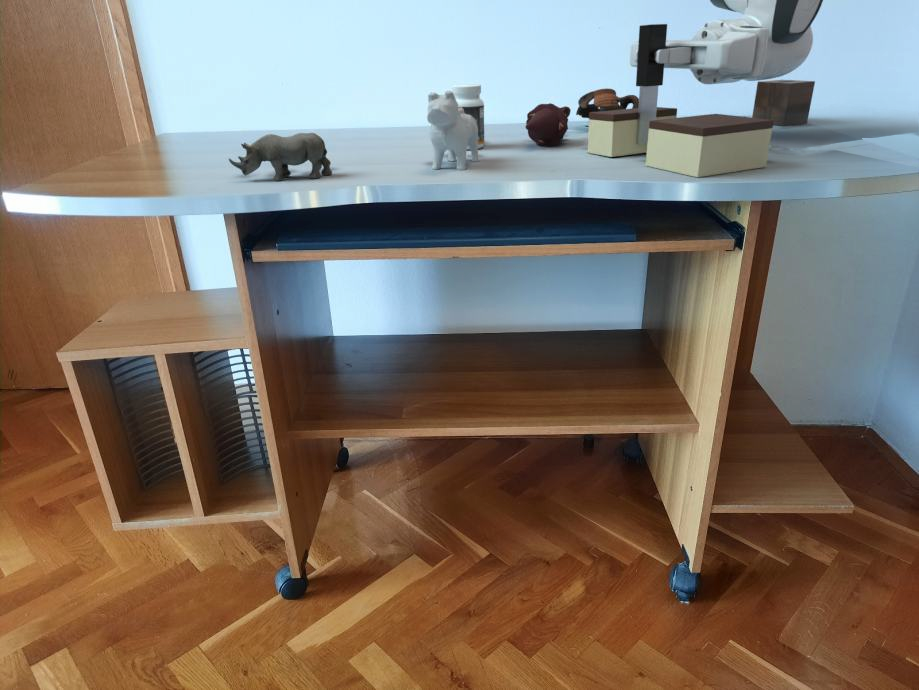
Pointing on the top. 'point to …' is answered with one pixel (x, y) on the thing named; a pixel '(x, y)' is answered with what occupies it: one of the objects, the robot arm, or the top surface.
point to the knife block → (783, 101)
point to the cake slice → (619, 131)
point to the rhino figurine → (285, 154)
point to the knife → (649, 76)
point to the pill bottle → (471, 106)
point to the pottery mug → (604, 102)
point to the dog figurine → (451, 130)
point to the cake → (708, 144)
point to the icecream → (547, 124)
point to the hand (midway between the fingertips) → (646, 56)
